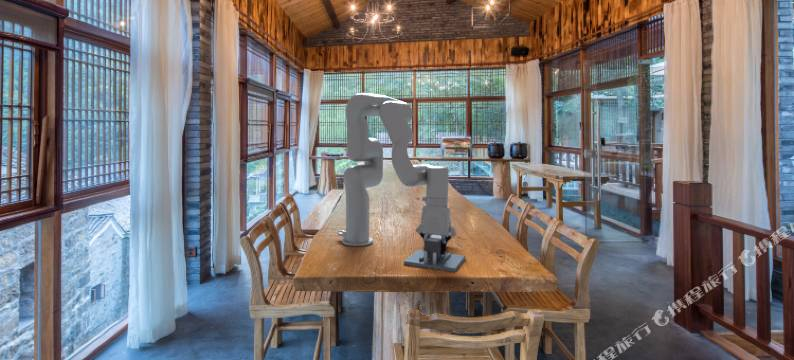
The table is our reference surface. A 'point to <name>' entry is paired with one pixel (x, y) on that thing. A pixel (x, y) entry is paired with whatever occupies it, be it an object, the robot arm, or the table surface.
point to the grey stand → (435, 261)
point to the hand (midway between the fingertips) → (435, 251)
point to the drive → (433, 246)
